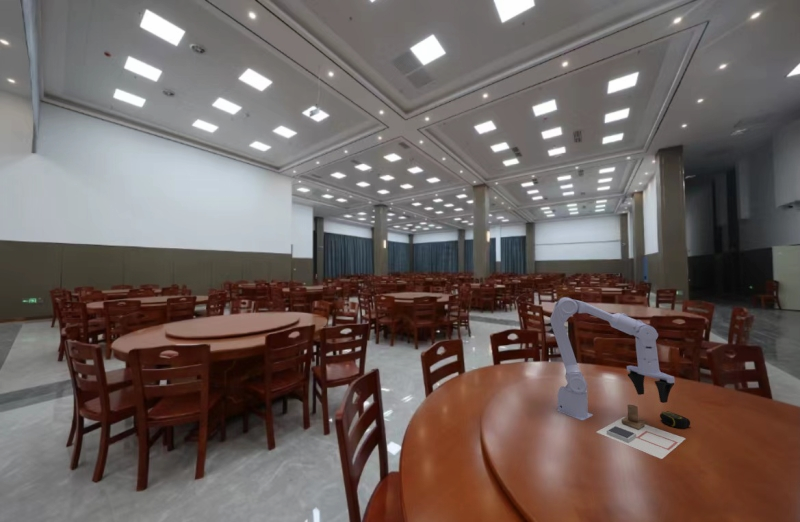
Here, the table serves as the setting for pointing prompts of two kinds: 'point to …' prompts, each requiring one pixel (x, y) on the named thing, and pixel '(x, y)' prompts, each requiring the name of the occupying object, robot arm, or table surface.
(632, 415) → the stamp
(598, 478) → the table surface
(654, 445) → the stamping mat
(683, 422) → the tape measure
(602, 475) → the table surface
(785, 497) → the table surface
